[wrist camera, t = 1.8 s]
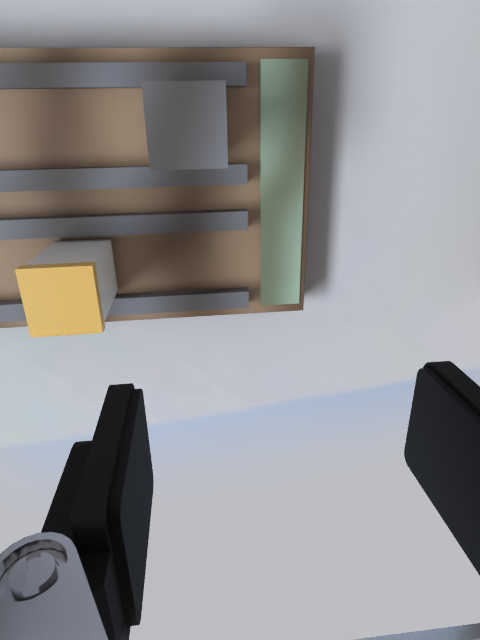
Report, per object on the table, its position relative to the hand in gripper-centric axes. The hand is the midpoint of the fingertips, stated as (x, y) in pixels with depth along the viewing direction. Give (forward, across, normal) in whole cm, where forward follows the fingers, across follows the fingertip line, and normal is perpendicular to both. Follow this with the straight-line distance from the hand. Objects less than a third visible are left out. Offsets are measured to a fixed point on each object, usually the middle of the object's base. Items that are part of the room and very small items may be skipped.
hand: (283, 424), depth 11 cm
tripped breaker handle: (+16, +8, 0) cm, 17 cm away
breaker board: (+18, +8, -4) cm, 20 cm away
